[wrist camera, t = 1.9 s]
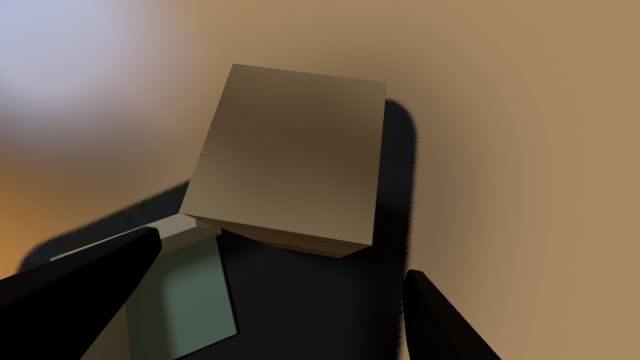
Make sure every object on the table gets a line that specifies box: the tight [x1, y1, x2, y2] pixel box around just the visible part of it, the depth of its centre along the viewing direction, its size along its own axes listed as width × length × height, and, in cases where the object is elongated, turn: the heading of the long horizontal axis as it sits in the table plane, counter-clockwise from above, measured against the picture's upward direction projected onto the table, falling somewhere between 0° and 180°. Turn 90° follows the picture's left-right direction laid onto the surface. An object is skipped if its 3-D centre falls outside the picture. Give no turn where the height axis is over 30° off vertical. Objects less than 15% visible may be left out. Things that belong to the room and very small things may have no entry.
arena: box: [50, 213, 237, 360], centre depth 15 cm, size 13×9×4 cm
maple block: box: [179, 64, 387, 258], centre depth 13 cm, size 5×5×13 cm
